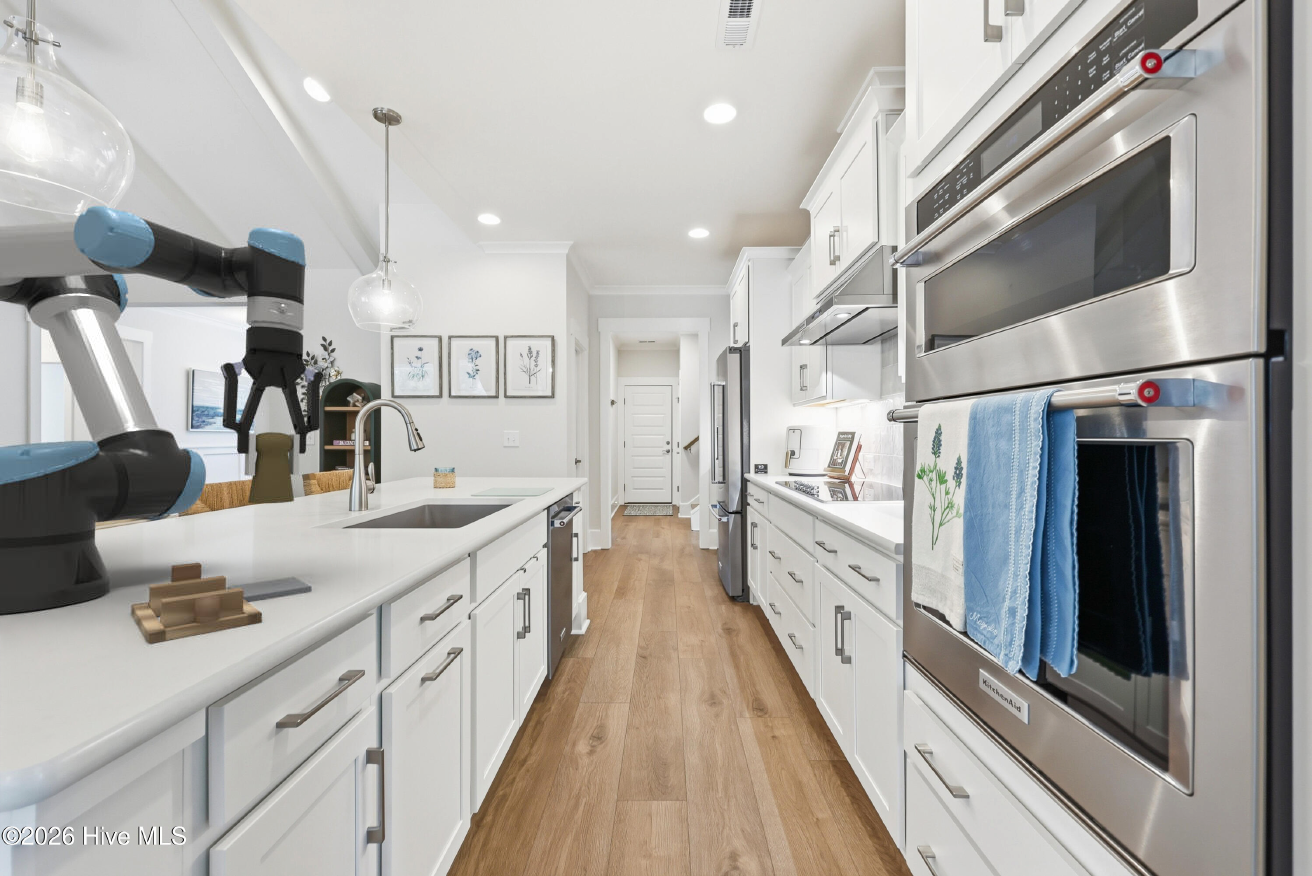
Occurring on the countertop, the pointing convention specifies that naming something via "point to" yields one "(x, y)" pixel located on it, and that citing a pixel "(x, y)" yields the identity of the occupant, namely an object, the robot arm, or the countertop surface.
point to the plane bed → (192, 606)
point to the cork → (272, 469)
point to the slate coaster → (272, 588)
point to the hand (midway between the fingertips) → (272, 474)
